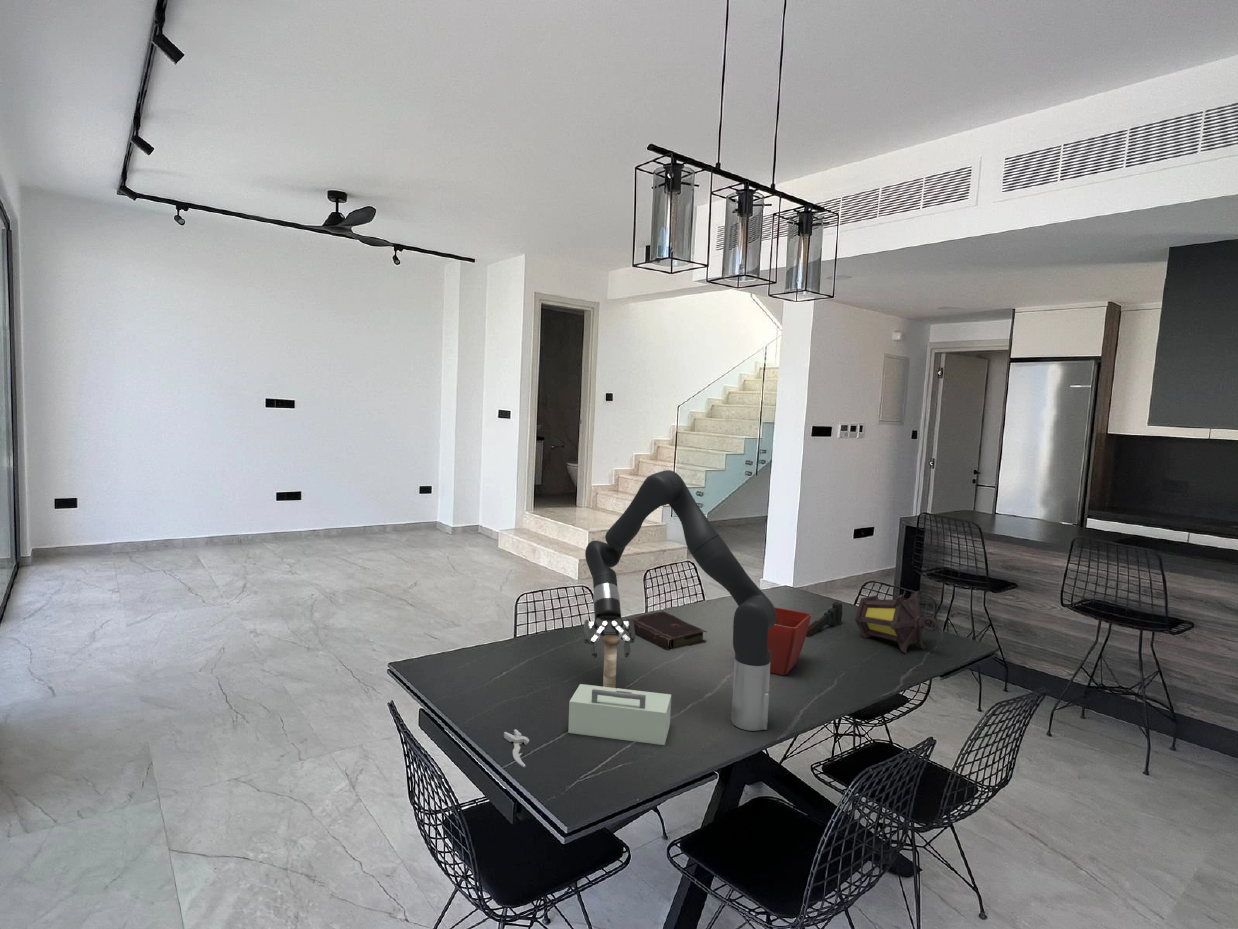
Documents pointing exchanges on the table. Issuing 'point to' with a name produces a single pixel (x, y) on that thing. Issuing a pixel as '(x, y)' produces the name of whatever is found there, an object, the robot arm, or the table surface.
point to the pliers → (517, 744)
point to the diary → (667, 630)
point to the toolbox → (620, 714)
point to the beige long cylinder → (610, 660)
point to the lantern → (894, 620)
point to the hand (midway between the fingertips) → (611, 656)
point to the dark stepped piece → (827, 619)
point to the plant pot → (787, 639)
